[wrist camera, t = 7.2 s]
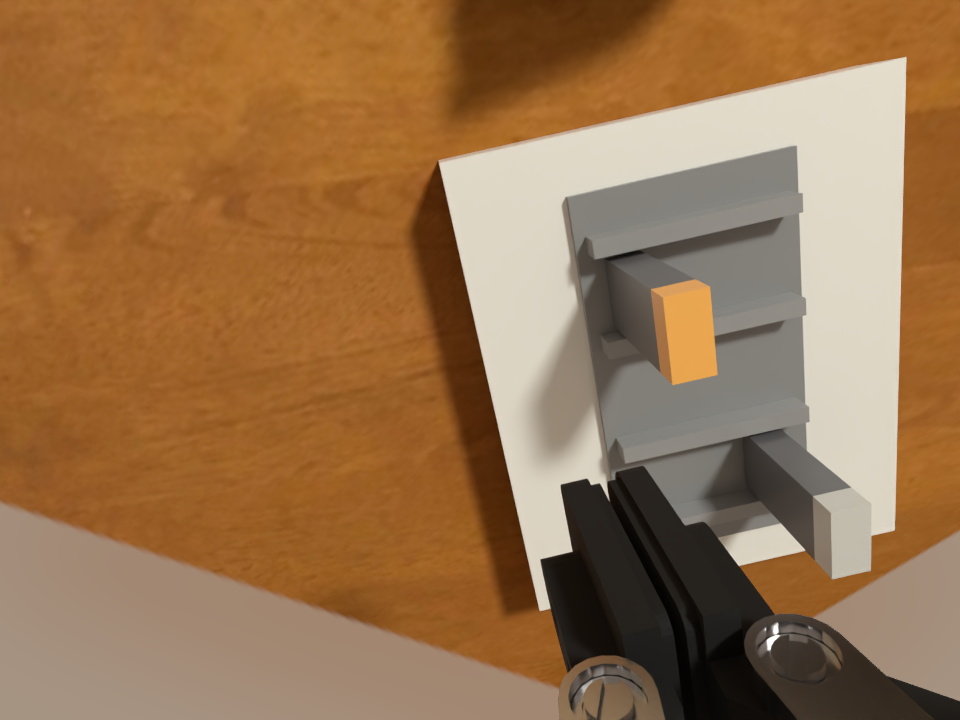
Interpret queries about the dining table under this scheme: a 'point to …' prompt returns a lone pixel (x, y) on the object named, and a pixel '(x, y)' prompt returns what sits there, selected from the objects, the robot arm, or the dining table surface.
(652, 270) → the toggle
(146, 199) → the dining table surface
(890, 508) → the lever base
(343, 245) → the dining table surface
